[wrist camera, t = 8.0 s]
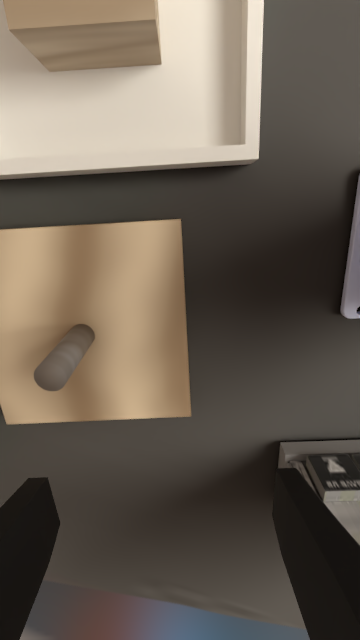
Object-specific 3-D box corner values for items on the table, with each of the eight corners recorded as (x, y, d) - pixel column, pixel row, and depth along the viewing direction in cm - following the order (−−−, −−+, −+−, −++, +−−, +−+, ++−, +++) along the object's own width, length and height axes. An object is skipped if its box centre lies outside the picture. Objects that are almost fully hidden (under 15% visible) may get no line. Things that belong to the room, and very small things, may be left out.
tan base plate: (180, 218, 16) (181, 224, 11) (190, 406, 20) (194, 476, 15) (-41, 231, 16) (-146, 243, 11) (14, 414, 20) (-43, 485, 15)
